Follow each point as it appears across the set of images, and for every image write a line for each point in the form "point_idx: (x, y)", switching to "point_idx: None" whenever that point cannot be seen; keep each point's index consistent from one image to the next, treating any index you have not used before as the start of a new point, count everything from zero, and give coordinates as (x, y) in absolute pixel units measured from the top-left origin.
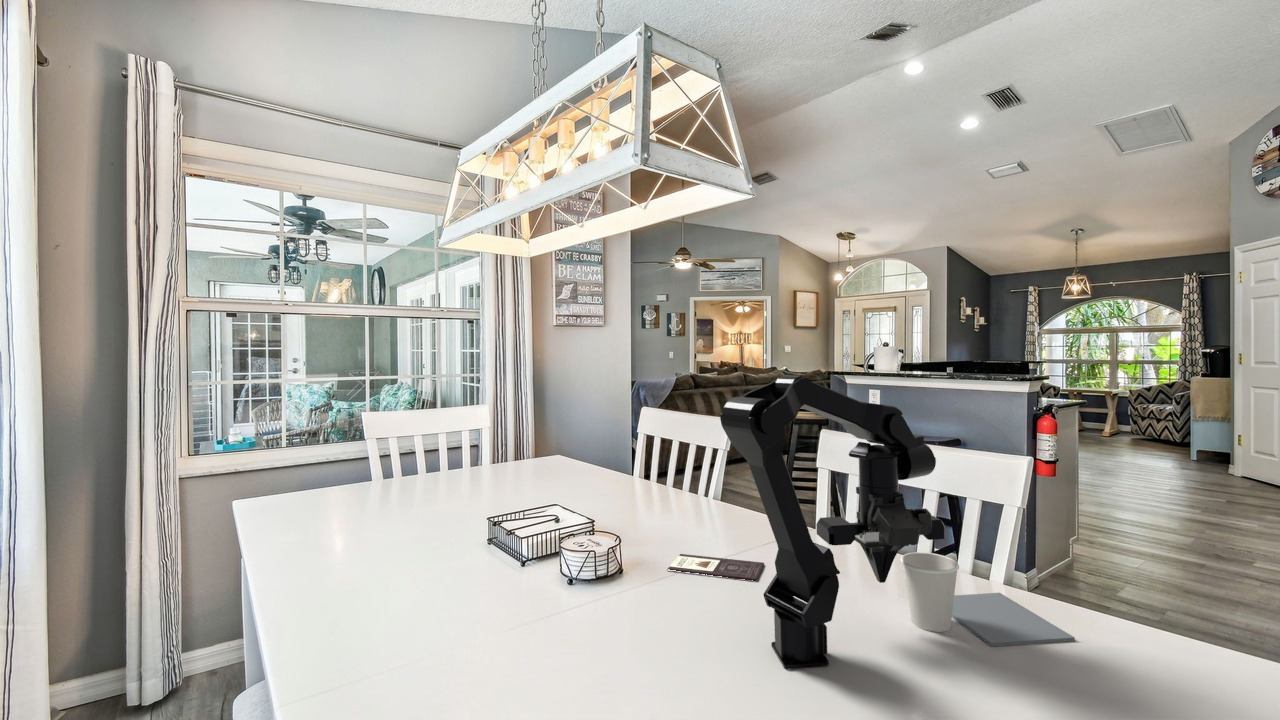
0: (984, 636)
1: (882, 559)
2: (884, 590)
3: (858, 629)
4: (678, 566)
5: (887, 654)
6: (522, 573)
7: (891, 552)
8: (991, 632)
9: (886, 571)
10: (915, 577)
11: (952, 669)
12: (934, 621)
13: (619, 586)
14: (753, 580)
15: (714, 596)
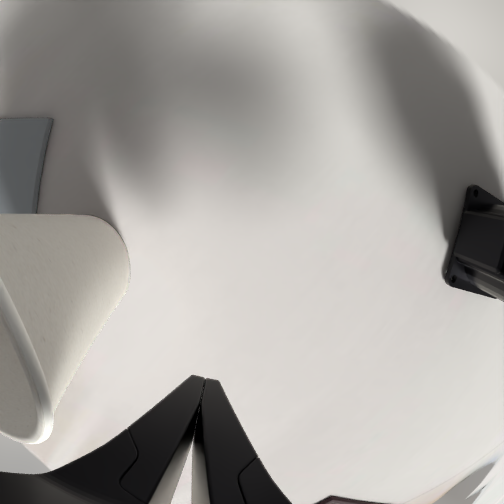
0: (37, 149)
1: (171, 478)
2: (106, 421)
3: (300, 308)
4: None
5: (325, 162)
6: (495, 474)
7: (108, 496)
8: (16, 163)
9: (178, 406)
10: (46, 308)
11: (217, 49)
12: (93, 222)
13: (473, 467)
14: (335, 498)
15: (426, 459)
